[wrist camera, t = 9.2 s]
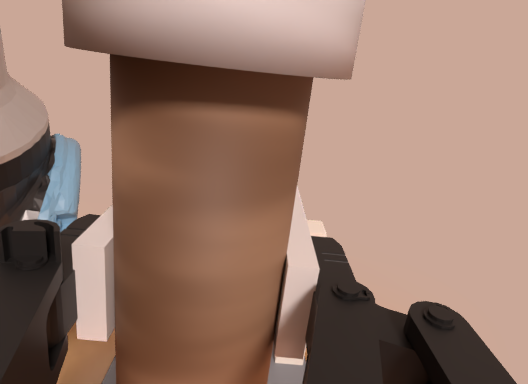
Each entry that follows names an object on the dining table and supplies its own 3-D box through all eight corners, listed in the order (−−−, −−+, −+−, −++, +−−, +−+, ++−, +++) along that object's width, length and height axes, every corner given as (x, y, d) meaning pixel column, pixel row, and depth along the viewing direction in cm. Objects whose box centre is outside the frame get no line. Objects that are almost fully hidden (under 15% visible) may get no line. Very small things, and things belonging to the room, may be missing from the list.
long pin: (53, 513, 12) (-5, -48, 7) (187, 396, 17) (211, 7, 12) (183, 684, 9) (248, -72, 4) (302, 485, 14) (403, 15, 9)
